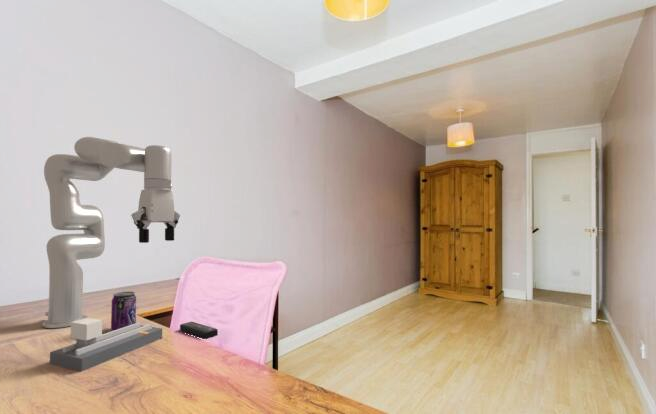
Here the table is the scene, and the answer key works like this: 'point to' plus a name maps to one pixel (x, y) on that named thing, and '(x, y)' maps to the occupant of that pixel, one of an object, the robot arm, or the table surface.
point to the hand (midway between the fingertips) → (157, 241)
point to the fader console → (105, 347)
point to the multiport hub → (199, 330)
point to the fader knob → (86, 331)
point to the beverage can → (123, 310)
